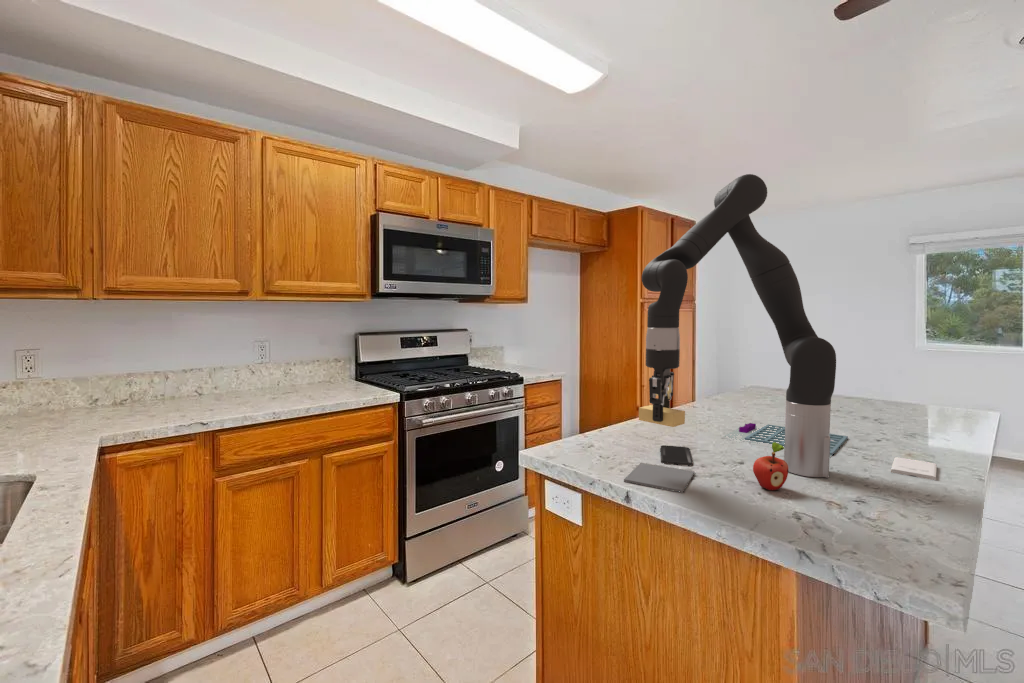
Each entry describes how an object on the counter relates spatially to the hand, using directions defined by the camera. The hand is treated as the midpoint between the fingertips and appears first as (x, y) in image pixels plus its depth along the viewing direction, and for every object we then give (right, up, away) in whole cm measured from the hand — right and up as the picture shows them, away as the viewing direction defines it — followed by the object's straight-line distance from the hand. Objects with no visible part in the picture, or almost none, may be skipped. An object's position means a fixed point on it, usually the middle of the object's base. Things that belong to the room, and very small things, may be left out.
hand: (661, 418), depth 109 cm
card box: (0, -1, 0) cm, 1 cm away
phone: (+9, -14, +17) cm, 24 cm away
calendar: (+49, -13, +35) cm, 62 cm away
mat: (0, -14, +1) cm, 14 cm away
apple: (+22, -15, -6) cm, 27 cm away
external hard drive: (+65, -15, +6) cm, 67 cm away
